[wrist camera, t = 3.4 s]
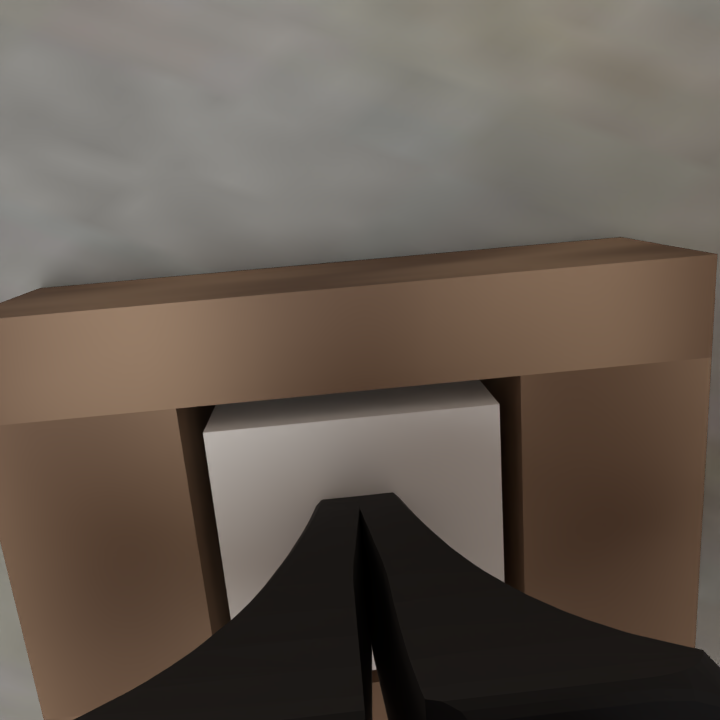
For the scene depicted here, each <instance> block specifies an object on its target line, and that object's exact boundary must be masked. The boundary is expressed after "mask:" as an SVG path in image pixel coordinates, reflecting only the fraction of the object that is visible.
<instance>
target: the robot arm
mask: <svg viewBox="0 0 720 720" xmlns="http://www.w3.org/2000/svg"><path fill="white" fill-rule="evenodd" d="M372 652H373V656H374V661H375V665H376V669H377V674H378V678H379V683H380V687H381V692H382V696H383V700H384V705H385V709H386V713H387V718H388V720H720V667H719V666H718V665H717V664H716V663H715V662H714V661H713V660H712V659H711V658H710V657H709V656H708V655H707V654H706V653H705V652H704V651H703V650H700V649H696V648H692V647H687V646H683V645H679V644H674V643H670V642H666V641H661V640H657V639H653V638H648V637H644V636H640V635H635V634H631V633H628V632H624V631H621V630H618V629H615V628H612V627H609V626H605V625H602V624H599V623H596V622H593V621H590V620H587V619H584V618H582V617H579V616H576V615H573V614H571V613H568V612H565V611H563V610H560V609H558V608H556V607H554V606H551V605H549V604H547V603H545V602H542V601H540V600H538V599H536V598H533V597H531V596H529V595H527V594H525V593H523V592H521V591H519V590H517V589H515V588H513V587H511V586H509V585H508V584H506V583H504V582H503V581H501V580H499V579H497V578H496V577H494V576H492V575H490V574H489V573H487V572H485V571H484V570H482V569H481V568H479V567H478V566H476V565H475V564H473V563H472V562H470V561H469V560H467V559H466V558H465V557H463V556H462V555H461V554H459V553H458V552H457V551H455V550H454V549H453V548H451V547H450V546H449V545H448V544H447V543H445V542H444V541H443V540H442V539H441V538H440V537H439V536H437V535H436V534H435V533H434V532H433V531H432V530H431V529H430V528H428V527H427V526H426V525H425V524H424V523H423V522H422V521H421V520H420V519H419V518H418V517H417V516H416V515H415V514H414V513H413V512H412V511H411V510H410V509H409V508H408V507H407V506H406V504H405V503H404V502H403V501H402V500H401V499H400V498H399V497H398V496H397V495H396V494H394V493H393V492H391V493H381V494H372V495H363V496H353V497H343V498H334V499H323V500H321V501H320V502H319V503H318V504H317V506H316V507H315V510H314V512H313V514H312V516H311V518H310V520H309V522H308V524H307V525H306V527H305V529H304V530H303V532H302V534H301V536H300V537H299V539H298V540H297V542H296V543H295V545H294V546H293V548H292V549H291V551H290V553H289V554H288V556H287V557H286V558H285V560H284V561H283V563H282V564H281V565H280V566H279V568H278V569H277V570H276V572H275V573H274V574H273V575H272V577H271V578H270V579H269V581H268V582H267V583H266V584H265V586H264V587H263V588H262V589H261V590H260V591H259V593H258V594H257V595H256V596H255V597H254V598H253V599H252V600H251V602H250V603H249V604H248V605H247V606H246V607H245V608H243V609H242V610H241V611H240V612H239V613H238V614H237V615H236V616H235V617H234V618H233V619H232V620H231V621H229V622H228V623H227V624H226V625H224V626H223V627H222V628H221V629H219V630H218V631H217V632H216V633H215V634H213V635H212V636H211V637H210V638H208V639H207V640H206V641H205V642H203V643H202V644H201V645H200V646H199V647H197V648H196V649H195V650H193V651H192V652H190V653H189V654H188V655H186V656H185V657H183V658H182V659H180V660H179V661H177V662H176V663H174V664H173V665H172V666H170V667H168V668H167V669H165V670H164V671H162V672H160V673H159V674H157V675H156V676H154V677H152V678H151V679H149V680H148V681H146V682H144V683H142V684H141V685H139V686H137V687H136V688H134V689H132V690H130V691H128V692H126V693H125V694H123V695H121V696H119V697H117V698H115V699H113V700H111V701H109V702H107V703H105V704H103V705H101V706H99V707H97V708H95V709H93V710H92V711H90V712H88V713H86V714H84V715H82V716H80V717H78V718H76V719H73V720H372Z"/></svg>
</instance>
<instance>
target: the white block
mask: <svg viewBox="0 0 720 720" xmlns="http://www.w3.org/2000/svg"><path fill="white" fill-rule="evenodd" d="M203 437H204V444H205V451H206V457H207V464H208V471H209V477H210V484H211V491H212V497H213V504H214V510H215V517H216V524H217V530H218V537H219V544H220V550H221V557H222V564H223V570H224V577H225V584H226V590H227V597H228V604H229V610H230V617H231V620H232V619H233V618H234V617H235V616H236V615H237V614H238V613H239V612H240V611H241V610H242V609H243V608H245V607H246V606H247V605H248V604H249V603H250V602H251V600H252V599H253V598H254V597H255V596H256V595H257V594H258V593H259V591H260V590H261V589H262V588H263V587H264V586H265V584H266V583H267V582H268V581H269V579H270V578H271V577H272V575H273V574H274V573H275V572H276V570H277V569H278V568H279V566H280V565H281V564H282V563H283V561H284V560H285V558H286V557H287V556H288V554H289V553H290V551H291V549H292V548H293V546H294V545H295V543H296V542H297V540H298V539H299V537H300V536H301V534H302V532H303V530H304V529H305V527H306V525H307V524H308V522H309V520H310V518H311V516H312V514H313V512H314V510H315V507H316V506H317V504H318V503H319V502H320V501H321V500H323V499H334V498H343V497H353V496H363V495H372V494H381V493H391V492H393V493H394V494H396V495H397V496H398V497H399V498H400V499H401V500H402V501H403V502H404V503H405V504H406V506H407V507H408V508H409V509H410V510H411V511H412V512H413V513H414V514H415V515H416V516H417V517H418V518H419V519H420V520H421V521H422V522H423V523H424V524H425V525H426V526H427V527H428V528H430V529H431V530H432V531H433V532H434V533H435V534H436V535H437V536H439V537H440V538H441V539H442V540H443V541H444V542H445V543H447V544H448V545H449V546H450V547H451V548H453V549H454V550H455V551H457V552H458V553H459V554H461V555H462V556H463V557H465V558H466V559H467V560H469V561H470V562H472V563H473V564H475V565H476V566H478V567H479V568H481V569H482V570H484V571H485V572H487V573H489V574H490V575H492V576H494V577H496V578H497V579H499V580H501V581H503V582H504V548H503V512H502V477H501V441H500V406H499V403H498V402H497V401H496V399H495V398H494V397H493V396H492V395H491V393H490V392H489V391H488V390H487V388H486V387H485V386H484V385H483V384H482V382H481V381H480V380H470V381H459V382H449V383H438V384H428V385H417V386H407V387H397V388H386V389H376V390H365V391H355V392H344V393H334V394H323V395H313V396H302V397H292V398H281V399H271V400H260V401H250V402H239V403H229V404H218V405H215V408H214V410H213V412H212V414H211V416H210V418H209V421H208V423H207V425H206V427H205V429H204V431H203ZM372 670H377V669H376V665H375V661H374V656H373V652H372Z"/></svg>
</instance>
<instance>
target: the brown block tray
mask: <svg viewBox="0 0 720 720" xmlns="http://www.w3.org/2000/svg"><path fill="white" fill-rule="evenodd" d="M716 269H717V254H713V253H708V252H702V251H696V250H691V249H685V248H679V247H674V246H668V245H662V244H657V243H651V242H645V241H640V240H634V239H628V238H622V237H618V238H607V239H595V240H584V241H573V242H561V243H550V244H539V245H527V246H516V247H504V248H493V249H482V250H470V251H459V252H448V253H436V254H425V255H413V256H402V257H391V258H379V259H368V260H356V261H345V262H334V263H322V264H311V265H300V266H288V267H277V268H265V269H254V270H243V271H231V272H220V273H209V274H197V275H186V276H174V277H163V278H152V279H140V280H129V281H117V282H106V283H95V284H83V285H72V286H61V287H49V288H39V289H36V290H34V291H31V292H28V293H26V294H23V295H20V296H18V297H15V298H12V299H10V300H7V301H4V302H2V303H0V542H1V546H2V550H3V555H4V559H5V563H6V567H7V571H8V575H9V579H10V583H11V587H12V591H13V595H14V600H15V604H16V608H17V612H18V616H19V620H20V624H21V628H22V632H23V636H24V640H25V645H26V649H27V653H28V657H29V661H30V665H31V669H32V673H33V677H34V681H35V686H36V690H37V694H38V698H39V702H40V706H41V710H42V714H43V718H44V720H73V719H76V718H78V717H80V716H82V715H84V714H86V713H88V712H90V711H92V710H93V709H95V708H97V707H99V706H101V705H103V704H105V703H107V702H109V701H111V700H113V699H115V698H117V697H119V696H121V695H123V694H125V693H126V692H128V691H130V690H132V689H134V688H136V687H137V686H139V685H141V684H142V683H144V682H146V681H148V680H149V679H151V678H152V677H154V676H156V675H157V674H159V673H160V672H162V671H164V670H165V669H167V668H168V667H170V666H172V665H173V664H174V663H176V662H177V661H179V660H180V659H182V658H183V657H185V656H186V655H188V654H189V653H190V652H192V651H193V650H195V649H196V648H197V647H199V646H200V645H201V644H202V643H203V642H205V641H206V640H207V639H208V638H210V637H211V636H212V635H213V634H215V633H216V632H217V631H218V630H219V629H221V628H222V627H223V626H224V625H226V624H227V623H228V622H229V621H231V617H230V610H229V604H228V597H227V590H226V584H225V577H224V570H223V564H222V557H221V550H220V544H219V537H218V530H217V524H216V517H215V510H214V504H213V497H212V491H211V484H210V477H209V471H208V464H207V457H206V451H205V444H204V437H203V431H204V429H205V427H206V425H207V423H208V421H209V418H210V416H211V414H212V412H213V410H214V408H215V405H218V404H229V403H239V402H250V401H260V400H271V399H281V398H292V397H302V396H313V395H323V394H334V393H344V392H355V391H365V390H376V389H386V388H397V387H407V386H417V385H428V384H438V383H449V382H459V381H470V380H480V381H481V382H482V384H483V385H484V386H485V387H486V388H487V390H488V391H489V392H490V393H491V395H492V396H493V397H494V398H495V399H496V401H497V402H498V403H499V406H500V441H501V477H502V512H503V548H504V583H506V584H508V585H509V586H511V587H513V588H515V589H517V590H519V591H521V592H523V593H525V594H527V595H529V596H531V597H533V598H536V599H538V600H540V601H542V602H545V603H547V604H549V605H551V606H554V607H556V608H558V609H560V610H563V611H565V612H568V613H571V614H573V615H576V616H579V617H582V618H584V619H587V620H590V621H593V622H596V623H599V624H602V625H605V626H609V627H612V628H615V629H618V630H621V631H624V632H628V633H631V634H635V635H640V636H644V637H648V638H653V639H657V640H661V641H666V642H670V643H674V644H679V645H683V646H687V647H692V648H695V639H696V621H697V604H698V586H699V568H700V551H701V533H702V515H703V498H704V480H705V463H706V445H707V427H708V410H709V392H710V374H711V357H712V339H713V322H714V304H715V286H716ZM372 720H388V718H387V713H386V709H385V705H384V700H383V696H382V692H381V687H380V683H379V678H378V674H377V670H372Z"/></svg>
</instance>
